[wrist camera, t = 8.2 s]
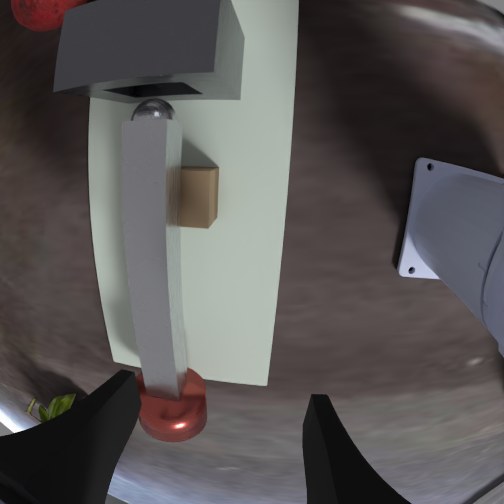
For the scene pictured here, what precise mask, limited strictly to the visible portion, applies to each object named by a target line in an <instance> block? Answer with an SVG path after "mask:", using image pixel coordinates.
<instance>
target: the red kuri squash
mask: <svg viewBox="0 0 504 504" xmlns="http://www.w3.org/2000/svg"><path fill="white" fill-rule="evenodd" d="M87 2H88V0H11V9H12V12H13V15H14V17H15V19H16V21H17V22H18V23H19V24H21V25H23V26H25V27H27V28H29V29H30V30H32V31H36V32H45V31H51V30H55V29H58V28H61V27H62V25H63V20H64V16H65V11H66V10H69V9H72V8H75V7H78V6H81V5H84V4H86V3H87Z"/></svg>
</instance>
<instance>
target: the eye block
mask: <svg viewBox="0 0 504 504" xmlns="http://www.w3.org/2000/svg"><path fill="white" fill-rule="evenodd" d="M244 41H245V37H244V34H243V31H242V28H241V26H240V23H239V20H238V17H237V15H236V12H235V9H234V7H233V4H232V1H231V0H97V1H94V2H90V3H87V4H84V5H81V6H78V7H75V8H72V9H69V10H66V11H65V16H64V20H63V25H62V30H61V36H60V41H59V47H58V54H57V61H56V68H55V77H54V87H53V92H54V93H63V94H71V95H78V96H85V97H92V98H98V99H105V100H110V101H116V102H122V103H127V104H131V103H142V102H144V101H146V100H149V99H162V100H164V101H175V100H240V99H241V84H242V69H243V55H244Z"/></svg>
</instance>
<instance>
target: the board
mask: <svg viewBox="0 0 504 504" xmlns="http://www.w3.org/2000/svg"><path fill="white" fill-rule="evenodd" d="M231 1H232V4H233V7H234V9H235V12H236V15H237V17H238V20H239V23H240V26H241V28H242V31H243V34H244V37H245V41H244V55H243V69H242V84H241V99H240V100H175V101H166V102H168V103H169V104H170V105H171V106H172V107H173V108H174V110H175V112H176V116H177V121H182V122H183V126H182V150H181V166H197V167H219V185H218V213H217V219H216V220H215V221H214V222H213V224H212V225H211V226H210V227H209V229H205V228H191V227H180V230H181V276H182V301H183V320H184V336H185V350H186V363H187V367H188V368H190V369H192V370H194V371H195V372H197V373H198V374H199V375H200V376H201V377H202V379H209V380H216V381H224V382H232V383H241V384H251V385H262V386H267V379H268V372H269V364H270V355H271V347H272V339H273V330H274V322H275V313H276V304H277V295H278V285H279V276H280V266H281V256H282V246H283V235H284V224H285V213H286V202H287V190H288V178H289V165H290V152H291V139H292V124H293V109H294V93H295V75H296V56H297V34H298V8H299V0H231ZM139 104H141V103H131V104H127V103H122V102H116V101H110V100H105V99H98V98H92V97H90V112H89V142H88V166H89V196H90V213H91V226H92V236H93V246H94V255H95V263H96V270H97V277H98V284H99V290H100V296H101V302H102V308H103V313H104V318H105V324H106V328H107V333H108V338H109V342H110V347H111V351H112V355H113V359H114V362H118V363H123V364H127V365H131V366H136V367H141V363H140V358H139V353H138V347H137V341H136V335H135V329H134V323H133V316H132V309H131V301H130V294H129V285H128V276H127V267H126V256H125V244H124V229H123V210H122V173H121V155H122V122H123V121H131V116H132V114H133V112H134V110H135V108H136V107H137V106H138V105H139Z"/></svg>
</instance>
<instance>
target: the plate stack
mask: <svg viewBox="0 0 504 504" xmlns="http://www.w3.org/2000/svg"><path fill="white" fill-rule="evenodd" d="M473 504H504V482H503V483H501V484H500V485H498V486H497V487H495V488H494V489H492V490H491V491H490V492H488V493H487V494H485V495H484V496H482V497H481V498H480V499H478V500H477V501H476V502H474V503H473Z"/></svg>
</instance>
